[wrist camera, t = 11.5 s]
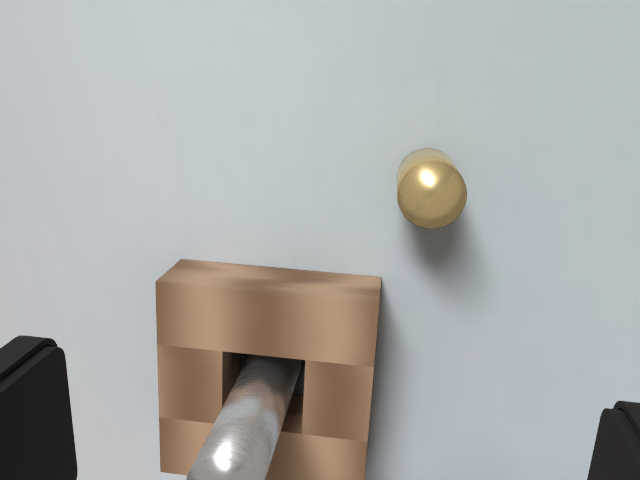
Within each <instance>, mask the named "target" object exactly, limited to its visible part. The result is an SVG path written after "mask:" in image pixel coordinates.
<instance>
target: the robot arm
mask: <svg viewBox="0 0 640 480" xmlns="http://www.w3.org/2000/svg"><path fill="white" fill-rule="evenodd" d="M76 479H77V461H76V452H75V443H74V434H73V424H72V415H71V406H70V397H69V388H68V378H67V369H66V360H65V354H64V351H63V349H61V348H60V347H57V344H56V342H55V341H54V340H53V339H51V338H42V337H32V336H18V337H16V338H14V339H13V340H12V341H10V342H9V343H7V344H6V345H5V346H3V347H2V348H0V480H76ZM587 480H640V403H635V402H626V401H618V402H616V404H615V406H614V408H613V409H607V408H606V409H604V410H603V412H602V414H601V417H600V422H599V427H598V432H597V436H596V441H595V446H594V451H593V455H592V460H591V465H590V469H589V474H588V479H587Z"/></svg>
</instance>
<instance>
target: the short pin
mask: <svg viewBox="0 0 640 480" xmlns="http://www.w3.org/2000/svg"><path fill="white" fill-rule="evenodd" d="M397 195H398V204H399V207H400V209H401V211H402V213H403V214H404V216H405V217H406V218H407V219H408V220H409V221H410V222H412V223H413V224H415V225H417V226H420V227H423V228H439V227H443V226H446V225H448V224H450V223H451V222H453V221H454V220H455V219H456V218H457V217H458V216H459V215H460V213H461V212H462V210H463V208H464V206H465V203H466V198H467V190H466V185H465V182H464V180H463V178H462V176H461V175H460V173H459V172H458V170H457V168H456V167H455V165H454V164H453V162H452V160H451V159H450V158H449V157H448V156H447V155H446V154H445V153H443V152H441V151H439V150H437V149H432V148H423V149H418V150H416V151H414V152H412V153H410V154H409V155H408V156H407V157H406V158H405V159H404V160H403V161H402V163H401V165H400V167H399V170H398V174H397Z"/></svg>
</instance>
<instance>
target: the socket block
mask: <svg viewBox="0 0 640 480" xmlns="http://www.w3.org/2000/svg"><path fill="white" fill-rule="evenodd" d="M380 289H381V277H374V276H363V275H352V274H341V273H330V272H319V271H307V270H296V269H285V268H274V267H263V266H252V265H240V264H229V263H218V262H207V261H196V260H185V259H181V260H180V261H179V262H177V263H176V264H175V265H174V266H173V267H172V268H171V269H169V270H168V271H167V272H166V273H165V274H164V275H163V276H162V277H160V278H159V279H158V280H157V281H156V316H157V354H158V391H159V428H160V466H161V472H166V473H174V474H181V475H188V473H189V471H190V469H191V467H192V465H193V463H194V461H195V460H196V458H197V456H198V454H199V452H200V450H201V448H202V446H203V444H204V442H205V440H206V438H207V436H208V434H209V433H210V431H211V429H212V427H213V425H214V423H215V421H216V419H217V417H218V415H219V413H220V411H221V409H222V407H223V406H224V404H225V402H226V400H227V398H228V396H229V394H230V392H231V390H232V388H233V386H234V384H235V382H236V380H237V379H238V377H239V375H240V353H243V354H253V355H262V356H272V357H281V358H291V359H300V360H305V378H304V396H300V395H292V397H291V400H290V403H289V406H288V410H287V413H286V416H285V419H284V422H283V425H282V428H281V431H280V434H279V438H278V441H277V444H276V447H275V450H274V453H273V456H272V459H271V462H270V465H269V469H268V472H267V475H266V478H265V480H364V478H365V466H366V455H367V443H368V431H369V420H370V408H371V396H372V385H373V373H374V362H375V350H376V338H377V327H378V315H379V303H380Z"/></svg>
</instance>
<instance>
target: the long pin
mask: <svg viewBox="0 0 640 480" xmlns="http://www.w3.org/2000/svg"><path fill="white" fill-rule="evenodd" d="M301 366H302V360H300V359H291V358H281V357H272V356H262V355H253V354H250V355H249V357H248V359H247V361H246V363H245V365H244V367H243V369H242V371H241V373H240V375H239V377H238V379H237V380H236V382H235V384H234V386H233V388H232V390H231V392H230V394H229V396H228V398H227V400H226V402H225V404H224V406H223V407H222V409H221V411H220V413H219V415H218V417H217V419H216V421H215V423H214V425H213V427H212V429H211V431H210V433H209V434H208V436H207V438H206V440H205V442H204V444H203V446H202V448H201V450H200V452H199V454H198V456H197V458H196V460H195V461H194V463H193V465H192V467H191V469H190V471H189V473H188V476H187V479H186V480H265V478H266V475H267V472H268V469H269V465H270V462H271V459H272V456H273V453H274V450H275V447H276V444H277V441H278V438H279V434H280V431H281V428H282V425H283V422H284V419H285V416H286V413H287V410H288V406H289V403H290V400H291V397H292V394H293V391H294V388H295V385H296V382H297V379H298V375H299V372H300V369H301Z"/></svg>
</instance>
